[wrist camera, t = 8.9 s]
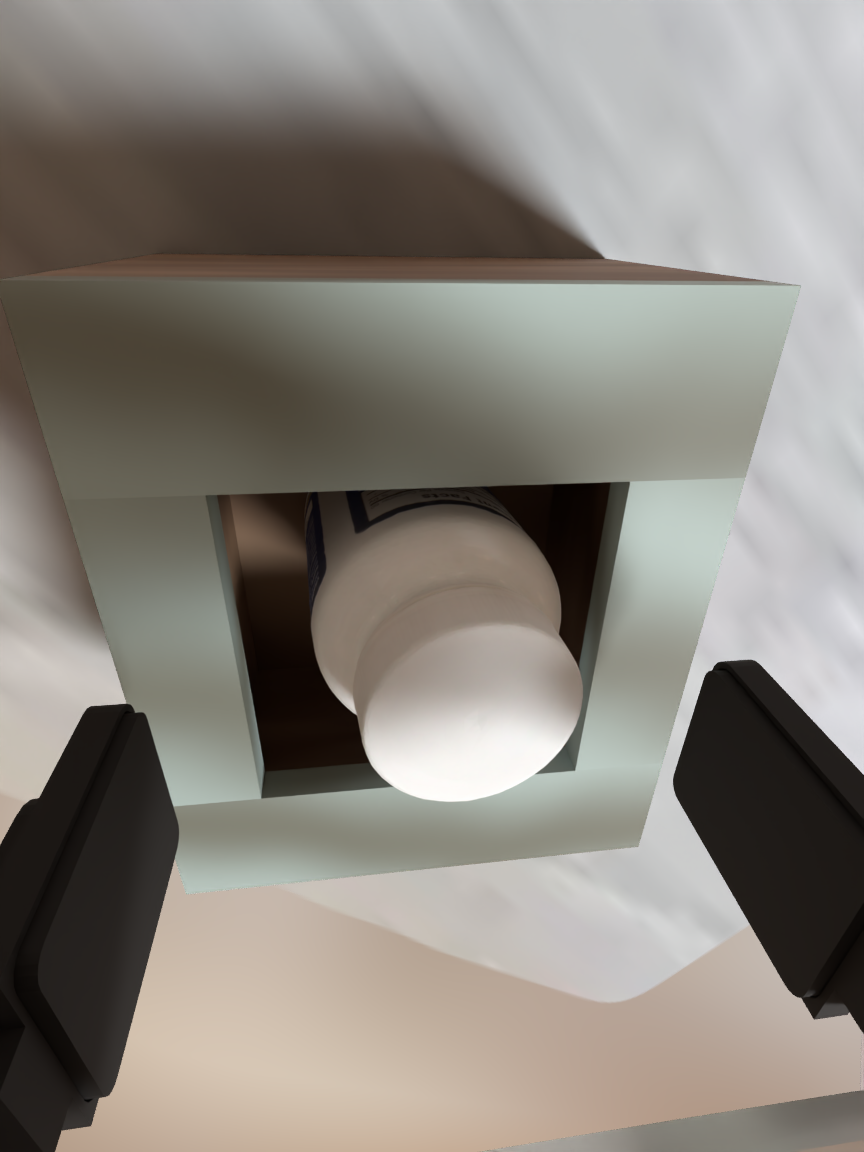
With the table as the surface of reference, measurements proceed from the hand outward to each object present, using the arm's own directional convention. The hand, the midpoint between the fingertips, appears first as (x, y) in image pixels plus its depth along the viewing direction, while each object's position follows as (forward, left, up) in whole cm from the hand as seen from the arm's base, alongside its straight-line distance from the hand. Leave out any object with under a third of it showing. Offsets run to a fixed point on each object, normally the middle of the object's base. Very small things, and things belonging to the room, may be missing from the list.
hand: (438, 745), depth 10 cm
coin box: (0, 0, -11) cm, 11 cm away
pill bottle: (0, 0, -10) cm, 10 cm away
